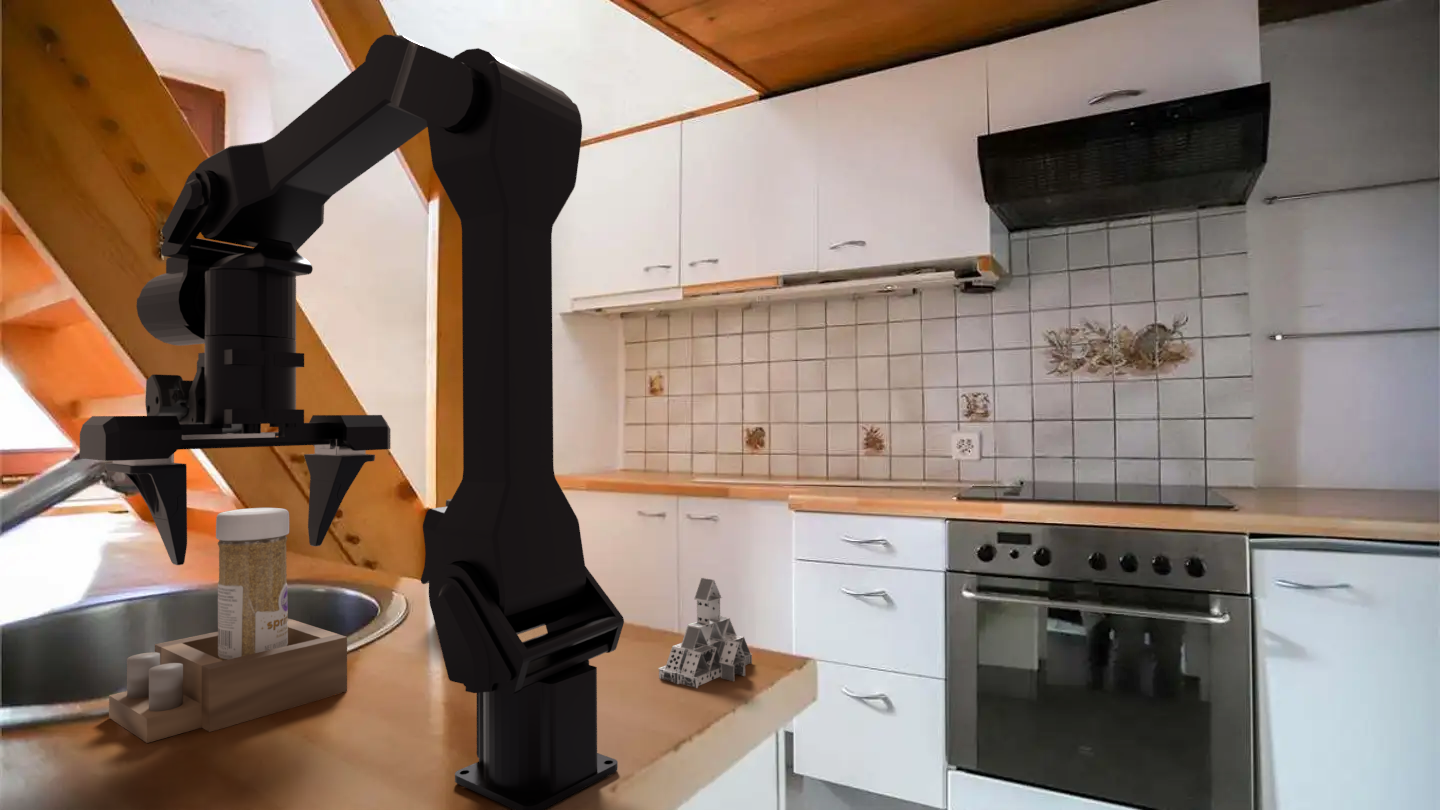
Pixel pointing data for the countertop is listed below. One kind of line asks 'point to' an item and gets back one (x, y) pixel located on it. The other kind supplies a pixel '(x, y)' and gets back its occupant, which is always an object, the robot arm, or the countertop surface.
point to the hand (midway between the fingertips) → (251, 554)
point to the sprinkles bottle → (252, 581)
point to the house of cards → (707, 645)
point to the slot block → (226, 682)
